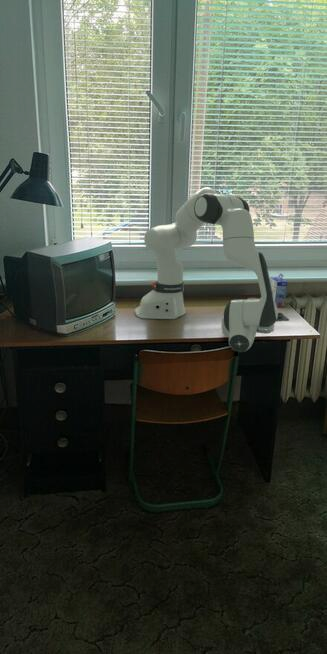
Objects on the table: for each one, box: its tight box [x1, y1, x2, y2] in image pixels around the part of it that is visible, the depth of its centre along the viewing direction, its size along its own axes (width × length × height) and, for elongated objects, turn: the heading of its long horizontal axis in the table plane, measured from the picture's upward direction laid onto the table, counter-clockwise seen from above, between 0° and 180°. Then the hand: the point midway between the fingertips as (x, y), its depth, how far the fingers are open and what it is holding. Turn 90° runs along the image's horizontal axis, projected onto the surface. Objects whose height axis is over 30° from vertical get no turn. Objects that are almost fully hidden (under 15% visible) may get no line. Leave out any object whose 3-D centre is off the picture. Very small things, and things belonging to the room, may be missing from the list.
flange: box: [276, 312, 290, 322], centre depth 214 cm, size 9×9×1 cm
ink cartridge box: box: [269, 273, 288, 308], centre depth 231 cm, size 10×6×14 cm, turn 10°
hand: (249, 317), depth 196 cm, fingers open, 8 cm apart
